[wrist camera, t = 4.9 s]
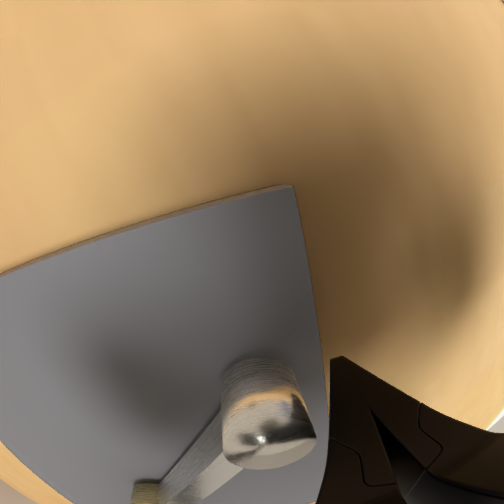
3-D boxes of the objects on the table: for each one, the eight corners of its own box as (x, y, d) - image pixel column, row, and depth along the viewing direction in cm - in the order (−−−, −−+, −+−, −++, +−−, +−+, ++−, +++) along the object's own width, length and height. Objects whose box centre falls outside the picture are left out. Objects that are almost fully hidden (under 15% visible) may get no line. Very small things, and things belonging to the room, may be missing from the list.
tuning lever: (179, 507, 12) (179, 538, 10) (128, 493, 11) (123, 525, 9) (320, 373, 9) (347, 431, 6) (227, 340, 8) (232, 408, 6)
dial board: (329, 485, 15) (333, 498, 14) (78, 496, 15) (75, 506, 13) (283, 183, 9) (295, 186, 7) (-72, 308, 8) (-83, 316, 7)
